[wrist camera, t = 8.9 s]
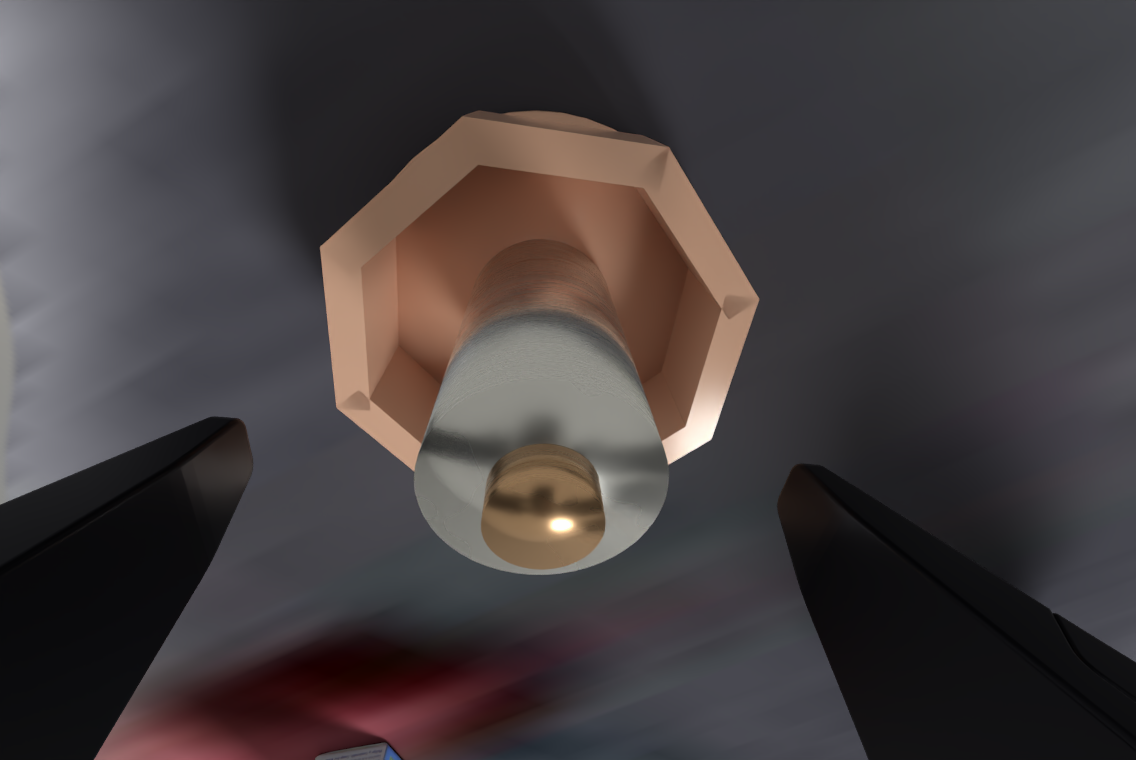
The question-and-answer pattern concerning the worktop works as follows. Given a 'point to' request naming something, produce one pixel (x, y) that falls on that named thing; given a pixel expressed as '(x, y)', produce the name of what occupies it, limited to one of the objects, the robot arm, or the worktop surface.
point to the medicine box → (362, 753)
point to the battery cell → (541, 422)
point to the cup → (519, 213)
